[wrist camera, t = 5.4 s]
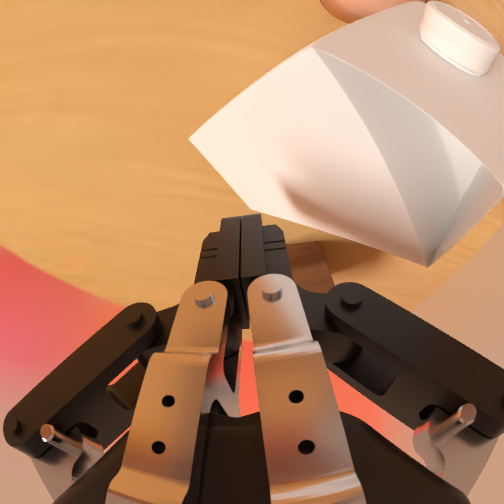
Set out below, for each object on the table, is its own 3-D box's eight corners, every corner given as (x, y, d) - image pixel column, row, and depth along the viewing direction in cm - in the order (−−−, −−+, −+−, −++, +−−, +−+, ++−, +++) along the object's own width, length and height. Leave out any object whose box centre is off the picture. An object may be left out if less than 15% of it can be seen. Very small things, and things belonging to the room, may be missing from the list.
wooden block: (269, 247, 28) (276, 307, 21) (318, 240, 27) (339, 298, 21) (274, 283, 30) (280, 342, 24) (318, 277, 30) (334, 334, 24)
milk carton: (309, 152, 21) (559, 160, 4) (250, 210, 21) (534, 313, 4) (257, 84, 18) (502, -20, 1) (186, 139, 18) (485, -29, 1)
